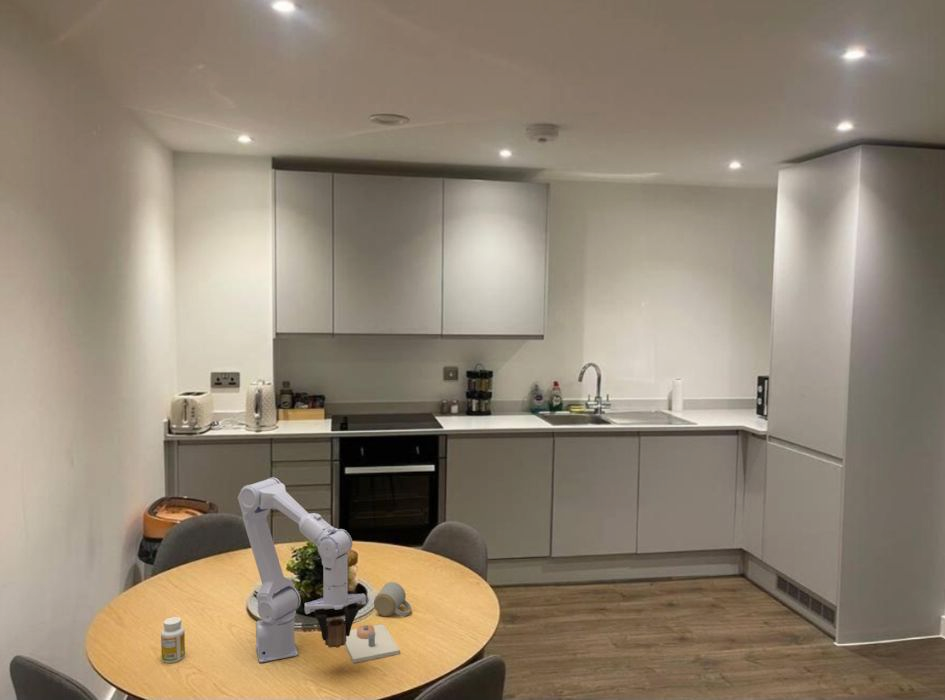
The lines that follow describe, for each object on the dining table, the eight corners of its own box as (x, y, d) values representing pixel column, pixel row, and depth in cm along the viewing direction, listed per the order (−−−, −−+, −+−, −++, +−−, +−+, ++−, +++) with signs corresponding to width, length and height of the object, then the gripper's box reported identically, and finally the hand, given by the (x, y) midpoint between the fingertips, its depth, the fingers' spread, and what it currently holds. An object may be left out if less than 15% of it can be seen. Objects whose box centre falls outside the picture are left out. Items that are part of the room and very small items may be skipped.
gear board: (353, 663, 170) (353, 647, 170) (340, 635, 184) (339, 621, 184) (399, 653, 175) (399, 638, 175) (383, 627, 189) (383, 613, 189)
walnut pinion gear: (327, 649, 164) (327, 629, 163) (323, 639, 168) (323, 620, 168) (348, 645, 166) (348, 625, 165) (343, 636, 170) (343, 616, 170)
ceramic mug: (371, 615, 196) (372, 590, 195) (382, 604, 203) (383, 579, 203) (405, 621, 193) (406, 595, 193) (415, 609, 201) (415, 584, 200)
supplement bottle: (178, 650, 176) (177, 613, 175) (189, 657, 172) (188, 619, 172) (157, 658, 172) (156, 620, 171) (168, 666, 168) (167, 627, 168)
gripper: (307, 593, 159) (308, 649, 160) (369, 583, 165) (369, 638, 166) (302, 581, 166) (303, 636, 167) (361, 572, 171) (361, 625, 172)
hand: (335, 636), depth 167 cm, fingers closed on walnut pinion gear, 5 cm apart
